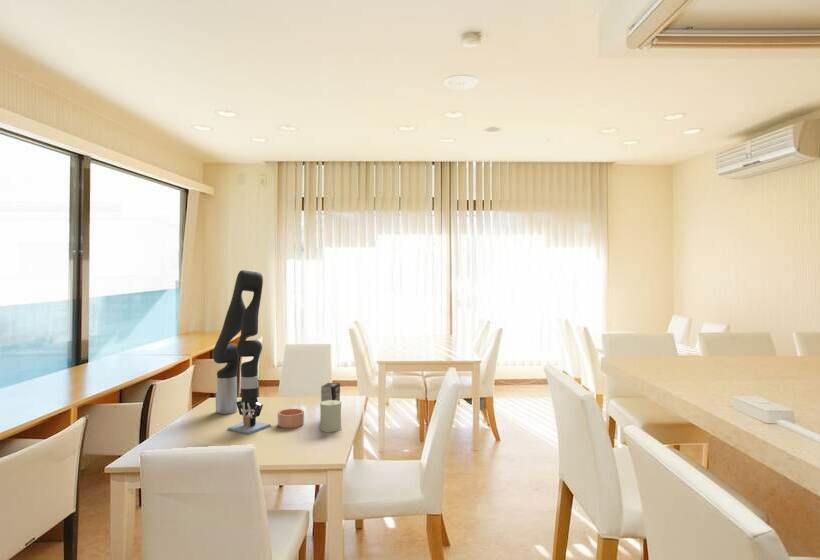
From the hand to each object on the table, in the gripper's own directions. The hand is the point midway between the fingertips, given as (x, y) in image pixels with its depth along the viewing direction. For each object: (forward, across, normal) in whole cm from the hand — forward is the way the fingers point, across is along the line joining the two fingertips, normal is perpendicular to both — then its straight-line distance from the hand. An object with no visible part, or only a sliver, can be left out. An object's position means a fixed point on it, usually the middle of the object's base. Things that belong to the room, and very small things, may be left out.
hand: (249, 425), depth 224 cm
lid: (+1, 0, 0) cm, 1 cm away
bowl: (+2, +12, +12) cm, 18 cm away
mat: (+2, 0, 0) cm, 2 cm away
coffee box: (+2, +22, +29) cm, 36 cm away
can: (+2, +31, +17) cm, 35 cm away
